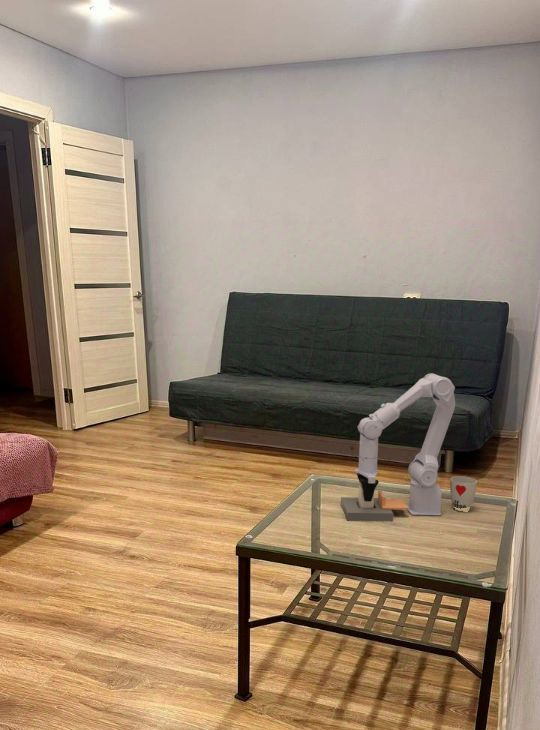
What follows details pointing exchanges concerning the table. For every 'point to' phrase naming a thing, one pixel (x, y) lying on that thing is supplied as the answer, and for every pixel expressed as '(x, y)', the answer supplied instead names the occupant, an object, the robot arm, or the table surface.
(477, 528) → the table surface
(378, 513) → the socket housing
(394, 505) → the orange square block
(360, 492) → the beige rectangular block
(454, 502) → the cup
